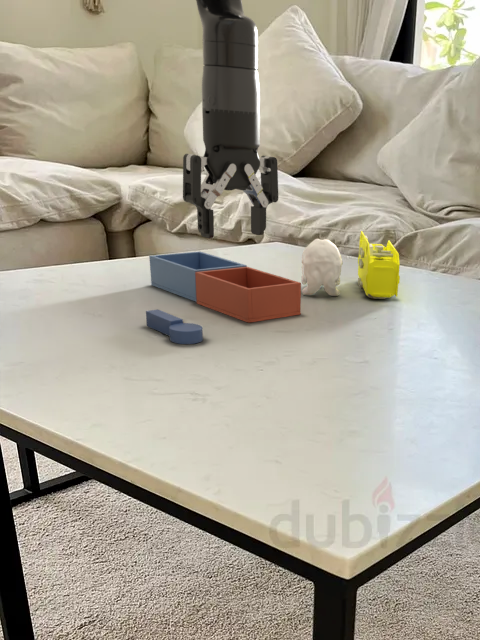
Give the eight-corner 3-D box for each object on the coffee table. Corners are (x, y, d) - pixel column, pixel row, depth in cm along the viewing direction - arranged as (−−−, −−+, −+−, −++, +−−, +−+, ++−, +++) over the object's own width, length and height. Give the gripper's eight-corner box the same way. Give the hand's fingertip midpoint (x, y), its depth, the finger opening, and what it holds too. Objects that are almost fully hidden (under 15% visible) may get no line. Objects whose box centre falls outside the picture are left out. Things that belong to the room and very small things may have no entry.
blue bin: (196, 302, 115) (194, 270, 113) (151, 285, 123) (149, 255, 120) (247, 295, 121) (247, 265, 119) (201, 279, 128) (200, 251, 126)
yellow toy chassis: (354, 279, 137) (357, 229, 133) (387, 280, 137) (390, 230, 133) (363, 300, 123) (365, 245, 119) (398, 301, 123) (402, 247, 119)
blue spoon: (181, 346, 95) (180, 329, 94) (139, 327, 101) (137, 311, 100) (209, 341, 98) (208, 325, 97) (166, 323, 104) (165, 308, 103)
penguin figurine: (302, 239, 117) (298, 234, 128) (302, 297, 120) (297, 288, 131) (344, 241, 118) (336, 236, 129) (342, 298, 121) (335, 289, 132)
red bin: (248, 322, 106) (247, 289, 104) (196, 303, 114) (195, 272, 112) (300, 314, 112) (301, 282, 110) (248, 296, 120) (247, 266, 118)
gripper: (257, 108, 110) (257, 229, 117) (168, 102, 101) (174, 233, 108) (291, 112, 105) (288, 237, 113) (201, 105, 96) (204, 242, 104)
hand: (232, 235), depth 110 cm, fingers open, 8 cm apart
